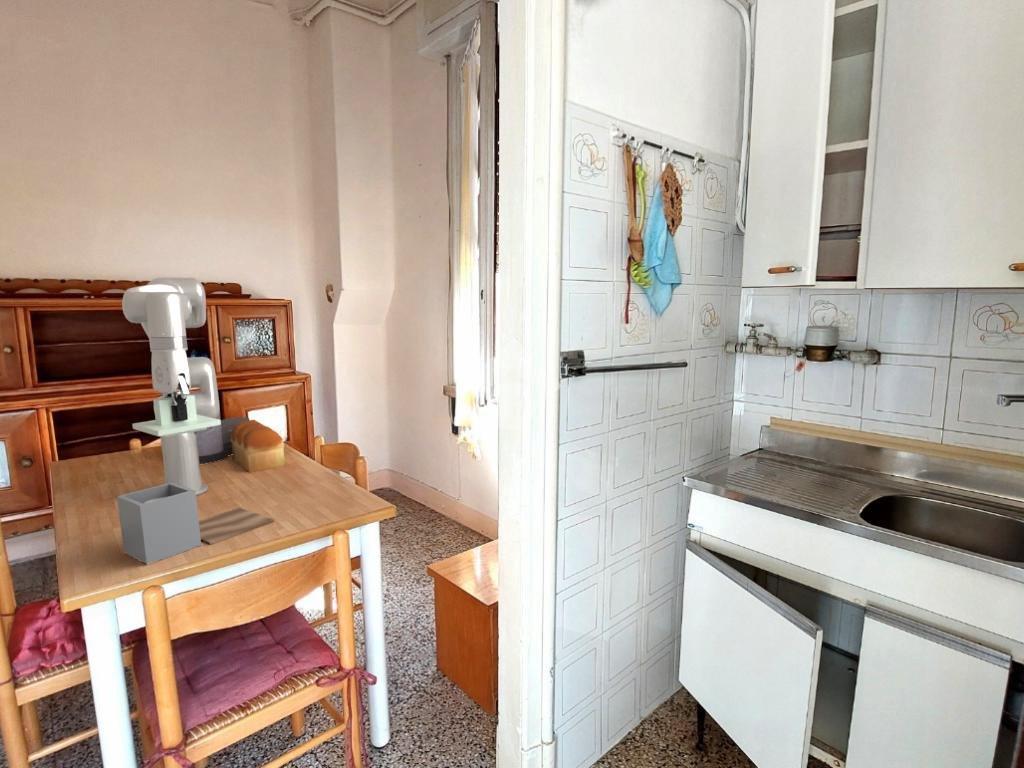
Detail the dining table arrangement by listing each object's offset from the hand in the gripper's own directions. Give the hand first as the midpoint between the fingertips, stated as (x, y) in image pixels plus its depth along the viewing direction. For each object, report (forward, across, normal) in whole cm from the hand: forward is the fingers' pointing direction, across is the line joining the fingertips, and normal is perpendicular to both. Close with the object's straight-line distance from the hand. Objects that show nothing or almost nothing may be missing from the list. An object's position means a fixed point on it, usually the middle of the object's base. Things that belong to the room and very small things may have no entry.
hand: (176, 419), depth 134 cm
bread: (+32, -52, +48) cm, 77 cm away
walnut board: (+31, 0, +9) cm, 32 cm away
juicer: (+32, -76, +45) cm, 94 cm away
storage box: (+31, +1, -7) cm, 31 cm away
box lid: (+3, 0, 0) cm, 3 cm away
